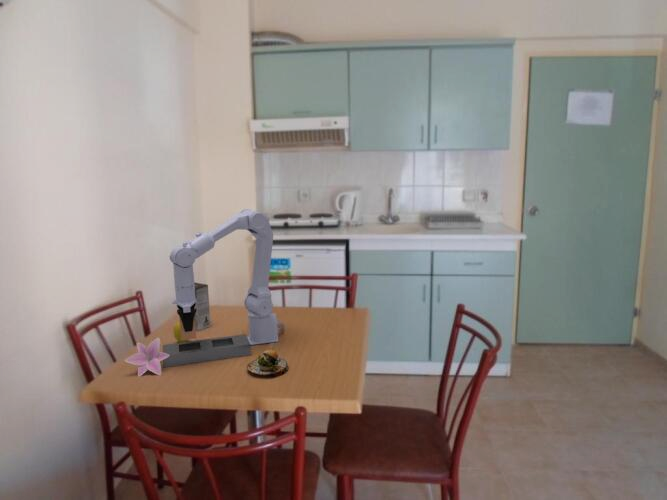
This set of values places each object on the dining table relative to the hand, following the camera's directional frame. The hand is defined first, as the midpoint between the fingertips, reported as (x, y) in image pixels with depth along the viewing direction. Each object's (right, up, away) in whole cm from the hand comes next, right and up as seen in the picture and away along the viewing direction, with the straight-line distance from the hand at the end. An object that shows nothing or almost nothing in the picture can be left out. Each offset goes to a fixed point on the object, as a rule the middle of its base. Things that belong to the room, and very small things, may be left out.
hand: (188, 328), depth 151 cm
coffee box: (-6, -4, +31) cm, 32 cm away
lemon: (-6, -7, +14) cm, 17 cm away
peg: (0, -3, 0) cm, 3 cm away
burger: (+26, -11, -9) cm, 29 cm away
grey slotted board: (+5, -9, +3) cm, 11 cm away
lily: (-9, -12, -8) cm, 17 cm away
